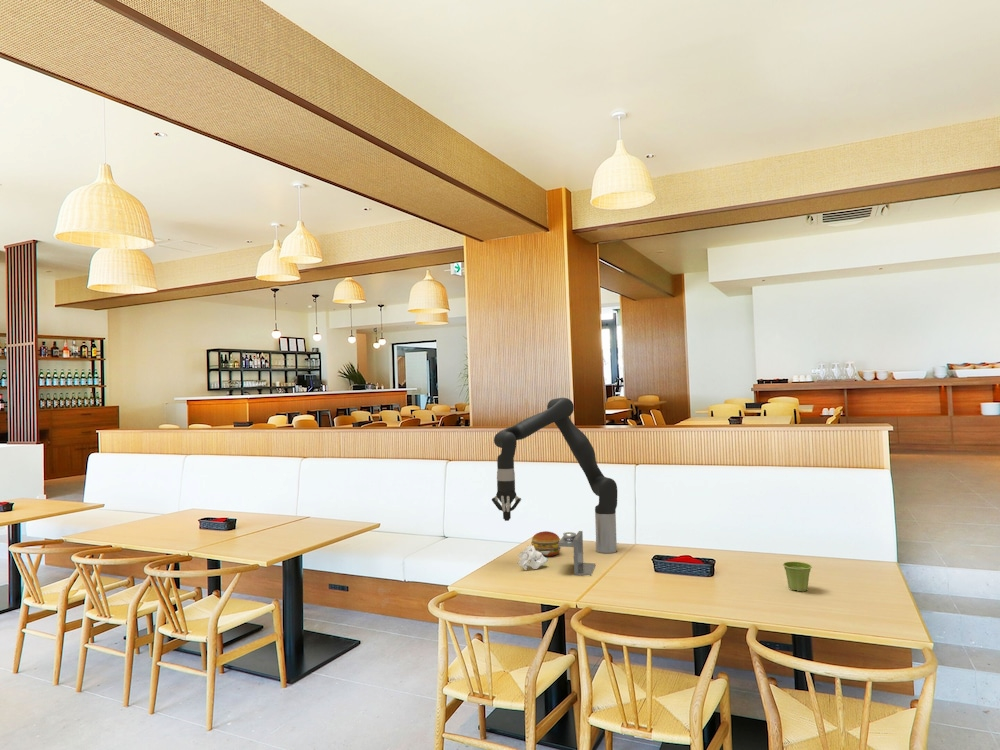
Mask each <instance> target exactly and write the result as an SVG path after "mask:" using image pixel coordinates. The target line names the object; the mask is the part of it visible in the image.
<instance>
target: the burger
mask: <svg viewBox="0 0 1000 750" xmlns="http://www.w3.org/2000/svg"><path fill="white" fill-rule="evenodd" d="M560 540H561V538H560V536H559V535H558V534H557V533H555V532H553V531H547V530H546V531H540V532H537V533H535V534H534V535H533V536H532V538H531V544H530V545H532V546H534V548H535V550H536V551H538V552H541V553H542V555H543V556H544V557H553V556H557V555H558V554H560V552H561V547H559V541H560Z"/></svg>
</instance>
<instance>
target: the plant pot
mask: <svg viewBox="0 0 1000 750" xmlns="http://www.w3.org/2000/svg"><path fill="white" fill-rule="evenodd" d="M782 566H783V567H784V570H785V575H786V579H787V581H786V582H787V585H788V587H787V588H788V589H789V588H790V589H792V590H791V591H794V590H797V591H804V592H806V590H807V589H808V588H809V581H810V579H809V578H810V573H811V569H812V568H813V566H812V565H811V564H810V563H807V562H801V561H785V562H783V563H782ZM790 589H789V590H790ZM797 591H796V592H797ZM807 591H808V590H807Z"/></svg>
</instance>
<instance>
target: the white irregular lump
mask: <svg viewBox="0 0 1000 750" xmlns="http://www.w3.org/2000/svg"><path fill="white" fill-rule="evenodd" d="M517 557H518V558H519V559H520V560H519V561H518V562H517V564H518V566H520V567H521V568H523V570H525V571H526V570H527V571H528V569H527V568H532V569H533V570H534V569H537V570H538V568H540V567H541V566H543V565H545V563H547V562H548V557H546V556H543V555H542V553H541V552H538V551H536V550H535V548H534V546H532V544H530V545H527V546H526V548H525V549H523V550H522V551H521V552H520V554H518V555H517Z"/></svg>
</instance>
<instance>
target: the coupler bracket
mask: <svg viewBox="0 0 1000 750" xmlns="http://www.w3.org/2000/svg"><path fill="white" fill-rule="evenodd" d="M583 537H584V536H583V530H578V532H570V531H569V532H568V531H567V532H563V536H562V537H561V538H560V541H559V547H560V548H563V547H564V548H573V568H574V569H573V575H574V576H580V575H590V576H589V577H592V575H591V574H593V572H594V570H593V569H595V567H596V563H593V562H584V542H583V540H584V539H583Z"/></svg>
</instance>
